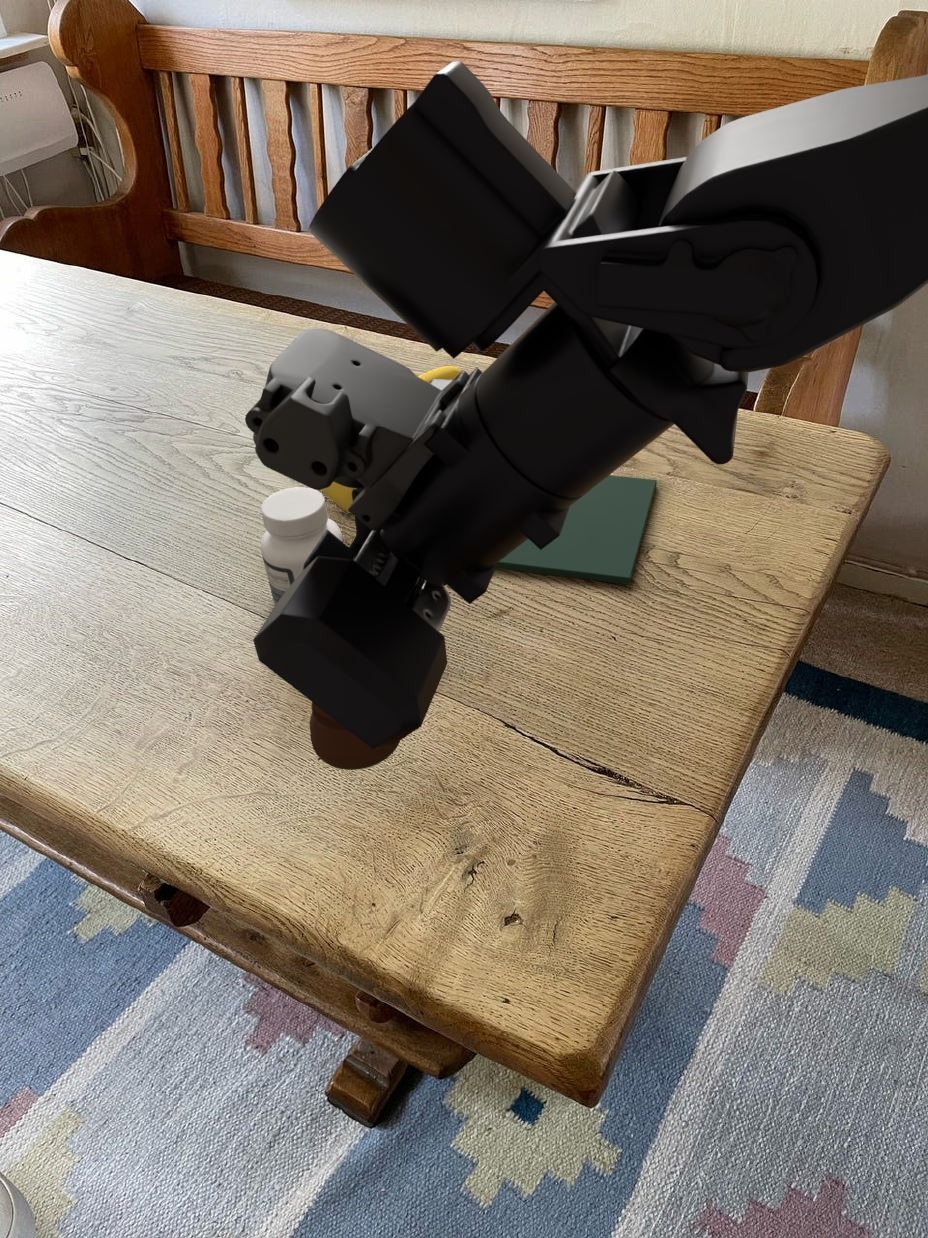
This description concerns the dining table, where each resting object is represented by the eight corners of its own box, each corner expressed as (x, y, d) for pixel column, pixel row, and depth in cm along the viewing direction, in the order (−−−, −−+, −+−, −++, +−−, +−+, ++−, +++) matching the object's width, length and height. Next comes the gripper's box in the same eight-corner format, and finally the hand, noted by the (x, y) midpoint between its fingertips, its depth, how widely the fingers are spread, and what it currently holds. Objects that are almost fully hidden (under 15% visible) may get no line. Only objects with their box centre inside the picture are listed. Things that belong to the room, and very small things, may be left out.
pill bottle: (355, 586, 67) (336, 476, 62) (356, 634, 63) (336, 521, 58) (279, 595, 67) (254, 485, 61) (276, 643, 63) (248, 530, 57)
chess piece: (335, 696, 51) (304, 543, 44) (425, 715, 49) (406, 560, 43) (296, 759, 47) (256, 605, 41) (391, 782, 46) (365, 626, 39)
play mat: (656, 486, 75) (656, 479, 75) (629, 585, 65) (630, 577, 65) (507, 471, 78) (507, 465, 78) (461, 564, 69) (460, 557, 68)
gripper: (442, 190, 39) (254, 419, 49) (248, 396, 26) (40, 657, 35) (628, 378, 42) (417, 559, 52) (545, 652, 29) (278, 829, 38)
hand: (307, 632), depth 44 cm, fingers closed on chess piece
